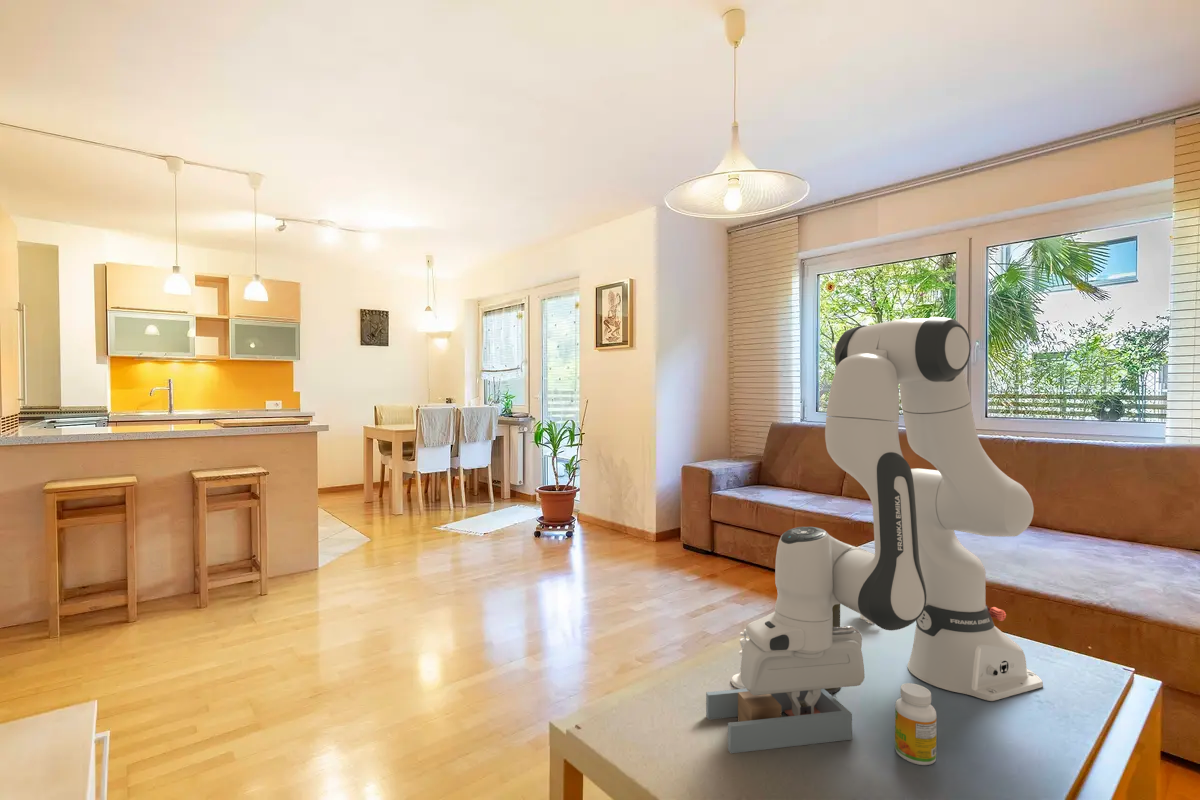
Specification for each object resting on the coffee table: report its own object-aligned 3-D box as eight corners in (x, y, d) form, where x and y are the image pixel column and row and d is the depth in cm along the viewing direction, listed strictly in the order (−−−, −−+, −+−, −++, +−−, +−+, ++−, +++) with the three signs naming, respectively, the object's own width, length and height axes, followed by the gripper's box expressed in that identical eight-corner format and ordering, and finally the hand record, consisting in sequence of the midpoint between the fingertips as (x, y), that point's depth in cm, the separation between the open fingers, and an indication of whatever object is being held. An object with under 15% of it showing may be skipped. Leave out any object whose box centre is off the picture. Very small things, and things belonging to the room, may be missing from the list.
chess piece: (759, 691, 102) (759, 636, 102) (731, 688, 103) (731, 634, 103) (757, 678, 107) (757, 625, 107) (730, 675, 108) (731, 623, 108)
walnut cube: (766, 719, 93) (766, 689, 93) (781, 737, 88) (781, 705, 88) (737, 722, 92) (738, 692, 92) (751, 741, 87) (751, 708, 87)
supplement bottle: (888, 743, 87) (888, 680, 87) (923, 744, 87) (924, 680, 87) (906, 766, 81) (906, 698, 81) (944, 767, 81) (944, 699, 81)
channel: (816, 704, 98) (816, 681, 98) (851, 739, 88) (852, 713, 88) (706, 716, 94) (706, 692, 94) (730, 753, 84) (730, 726, 84)
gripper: (849, 617, 97) (848, 698, 97) (736, 625, 93) (736, 709, 93) (873, 632, 90) (873, 719, 90) (753, 642, 87) (753, 731, 87)
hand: (802, 714), depth 92 cm, fingers closed
